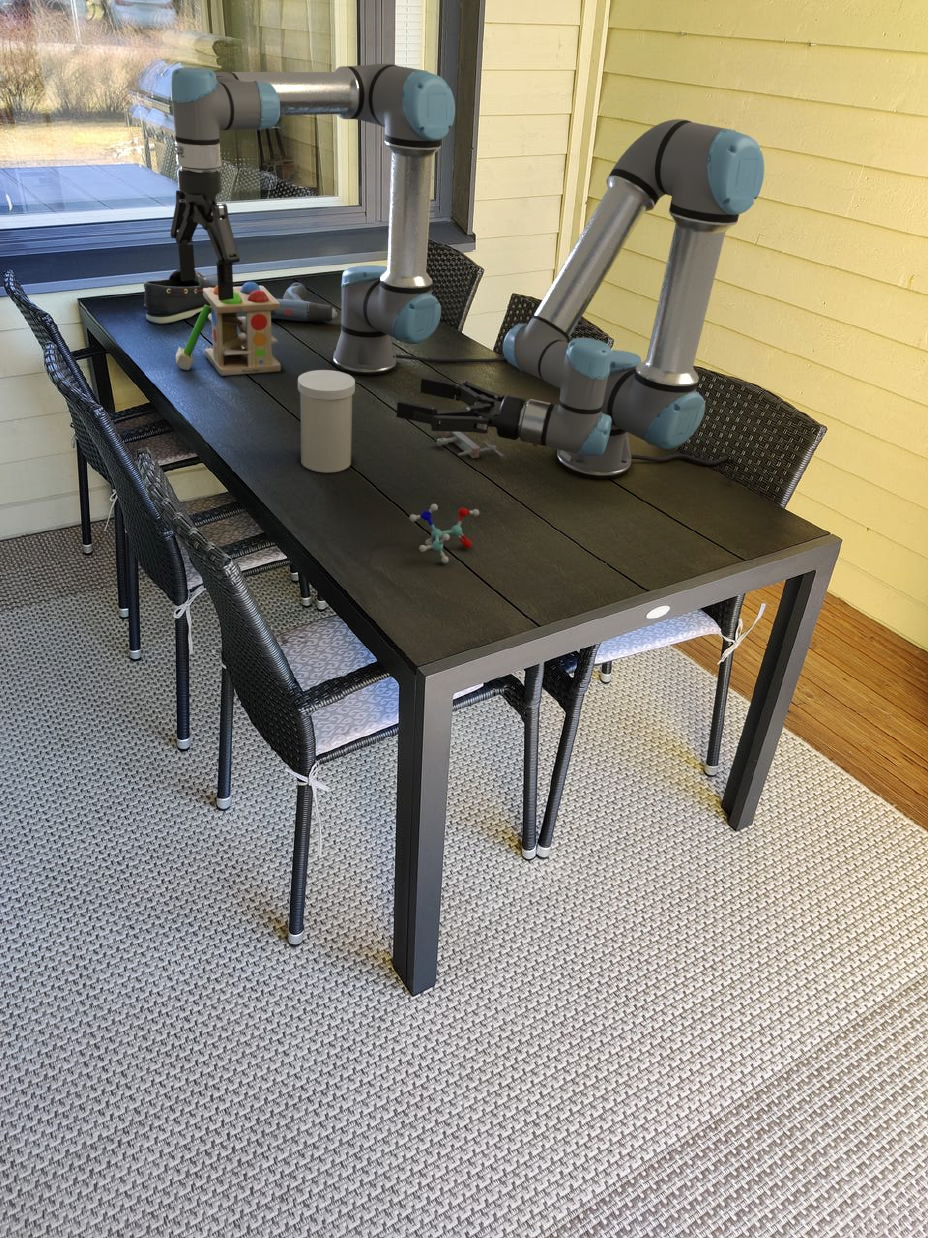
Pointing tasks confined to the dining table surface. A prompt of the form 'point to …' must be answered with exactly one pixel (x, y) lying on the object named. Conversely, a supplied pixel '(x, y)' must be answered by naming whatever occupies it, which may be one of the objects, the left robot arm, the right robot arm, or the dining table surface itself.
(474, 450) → the clamp
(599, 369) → the right robot arm
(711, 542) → the dining table surface
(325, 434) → the jar
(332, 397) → the lid
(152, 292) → the boat shoe
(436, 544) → the molecular model
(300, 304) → the power drill
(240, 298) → the pounding bench toy
